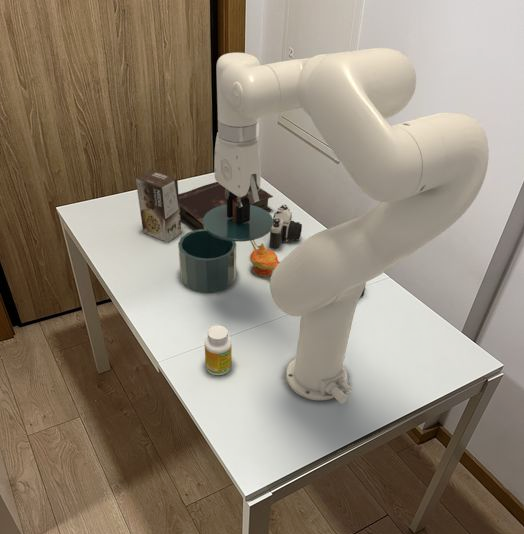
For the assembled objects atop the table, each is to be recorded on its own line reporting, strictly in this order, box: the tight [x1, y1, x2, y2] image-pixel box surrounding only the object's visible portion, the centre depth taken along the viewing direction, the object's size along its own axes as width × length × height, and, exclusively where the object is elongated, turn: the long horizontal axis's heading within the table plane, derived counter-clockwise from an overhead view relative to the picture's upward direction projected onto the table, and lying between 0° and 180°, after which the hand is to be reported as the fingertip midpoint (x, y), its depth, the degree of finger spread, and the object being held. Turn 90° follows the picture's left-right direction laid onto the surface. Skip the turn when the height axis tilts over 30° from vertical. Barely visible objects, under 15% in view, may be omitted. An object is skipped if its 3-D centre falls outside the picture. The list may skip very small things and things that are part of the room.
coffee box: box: [135, 169, 182, 243], centre depth 142 cm, size 9×6×16 cm
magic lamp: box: [249, 240, 281, 277], centre depth 132 cm, size 7×18×11 cm, turn 33°
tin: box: [177, 229, 237, 294], centre depth 130 cm, size 14×14×10 cm
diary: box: [178, 181, 274, 231], centre depth 155 cm, size 19×25×5 cm
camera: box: [268, 204, 303, 251], centre depth 145 cm, size 13×8×9 cm, turn 168°
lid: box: [203, 198, 273, 243], centre depth 110 cm, size 15×15×6 cm
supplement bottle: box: [204, 325, 233, 376], centre depth 108 cm, size 5×5×10 cm
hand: (238, 218), depth 111 cm, fingers closed on lid, 2 cm apart
